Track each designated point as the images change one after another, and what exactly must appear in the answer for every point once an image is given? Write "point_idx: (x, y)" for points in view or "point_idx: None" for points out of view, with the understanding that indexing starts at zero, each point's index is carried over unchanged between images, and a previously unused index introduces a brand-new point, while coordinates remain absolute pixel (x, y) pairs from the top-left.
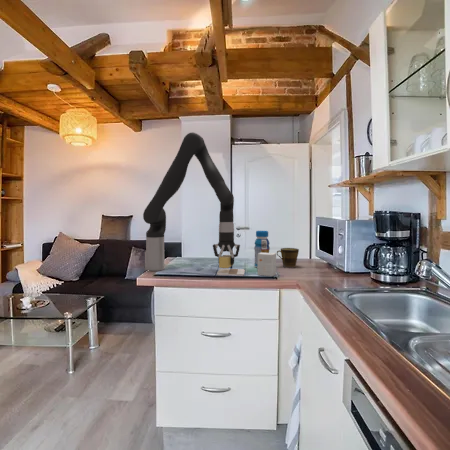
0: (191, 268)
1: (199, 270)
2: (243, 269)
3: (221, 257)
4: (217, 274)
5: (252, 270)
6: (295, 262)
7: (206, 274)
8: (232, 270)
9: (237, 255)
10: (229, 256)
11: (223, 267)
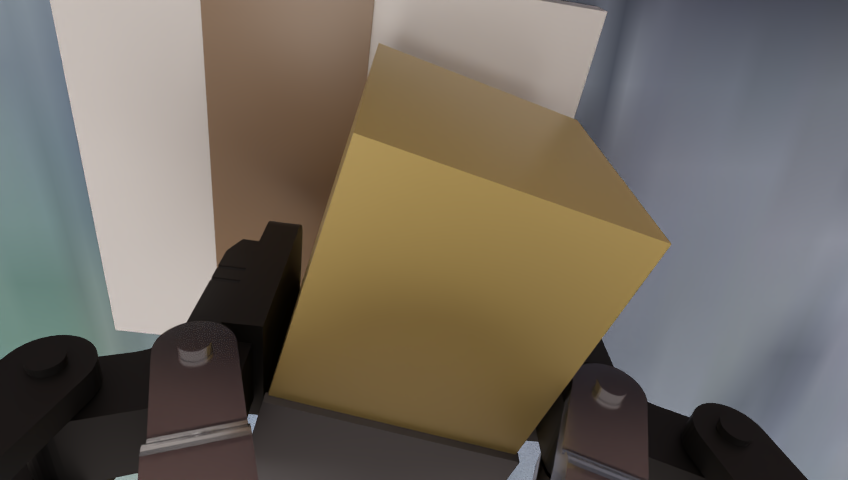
0: (837, 446)
1: (779, 350)
2: (134, 319)
3: (588, 237)
4: (591, 8)
5: (19, 335)
6: None
7: (772, 79)
8: (302, 246)
9: (3, 361)
10: (308, 398)
11: (483, 86)
